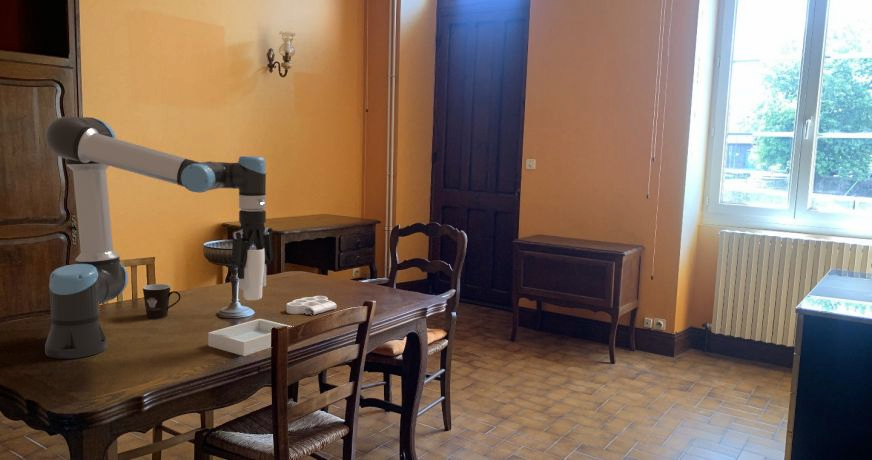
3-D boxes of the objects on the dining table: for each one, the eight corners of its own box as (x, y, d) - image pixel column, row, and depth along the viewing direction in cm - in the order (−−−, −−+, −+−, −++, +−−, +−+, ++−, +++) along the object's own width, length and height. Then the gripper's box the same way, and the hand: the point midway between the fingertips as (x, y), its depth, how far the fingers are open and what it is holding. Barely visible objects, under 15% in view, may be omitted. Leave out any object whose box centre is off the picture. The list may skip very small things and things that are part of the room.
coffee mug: (137, 316, 223) (136, 287, 222) (158, 311, 230) (158, 283, 229) (161, 322, 218) (161, 292, 216) (182, 316, 225) (182, 287, 224)
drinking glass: (269, 298, 199) (269, 248, 197) (252, 302, 193) (252, 251, 191) (253, 294, 202) (253, 245, 200) (236, 298, 197) (235, 248, 195)
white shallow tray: (244, 356, 187) (244, 342, 187) (208, 345, 195) (208, 332, 195) (294, 339, 204) (294, 326, 204) (259, 330, 212) (259, 318, 211)
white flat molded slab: (307, 319, 229) (277, 311, 237) (342, 309, 244) (313, 302, 252) (307, 309, 229) (277, 302, 237) (342, 300, 244) (313, 293, 252)
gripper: (235, 213, 184) (235, 295, 187) (286, 208, 201) (285, 283, 204) (216, 210, 188) (217, 291, 191) (268, 206, 205) (268, 280, 208)
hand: (252, 287), depth 197 cm, fingers closed on drinking glass, 7 cm apart
